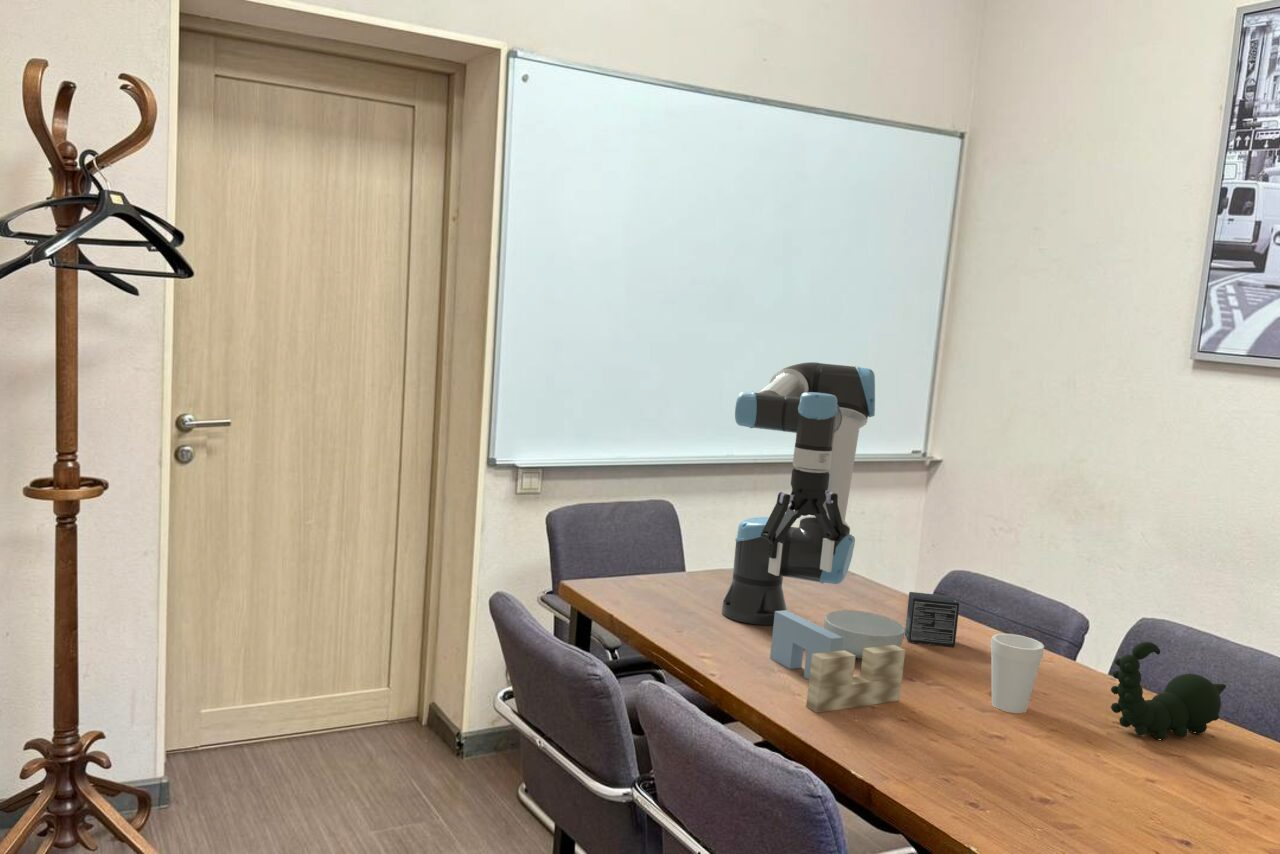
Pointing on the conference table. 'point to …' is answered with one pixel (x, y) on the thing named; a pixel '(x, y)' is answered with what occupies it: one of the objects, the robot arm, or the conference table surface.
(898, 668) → the notched birch block
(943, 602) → the small box
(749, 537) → the robot arm
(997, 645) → the foam cup
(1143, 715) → the toy figurine
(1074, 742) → the conference table surface
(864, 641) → the cereal bowl
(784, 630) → the blue-grey arch block
